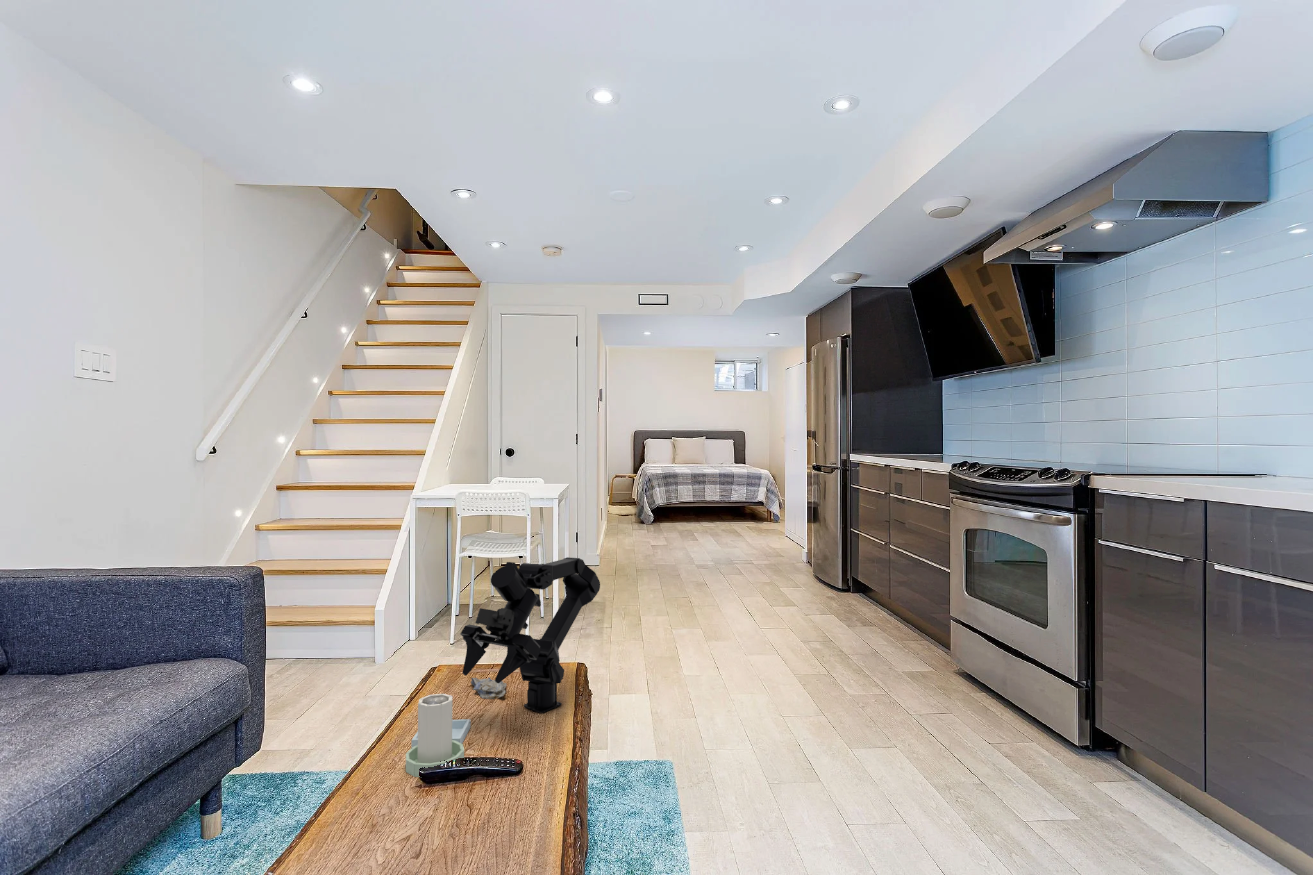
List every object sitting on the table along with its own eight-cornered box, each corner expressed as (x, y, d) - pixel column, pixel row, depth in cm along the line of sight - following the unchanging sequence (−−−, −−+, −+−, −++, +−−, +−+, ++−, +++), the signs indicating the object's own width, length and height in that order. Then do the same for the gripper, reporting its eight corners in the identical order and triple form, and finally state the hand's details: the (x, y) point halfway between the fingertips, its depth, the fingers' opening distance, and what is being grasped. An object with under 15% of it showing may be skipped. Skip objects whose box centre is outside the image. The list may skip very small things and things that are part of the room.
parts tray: (424, 732, 139) (425, 720, 139) (470, 730, 139) (470, 719, 139) (411, 752, 129) (411, 739, 129) (460, 751, 130) (460, 738, 130)
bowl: (442, 750, 130) (442, 735, 130) (474, 765, 124) (474, 749, 124) (394, 769, 122) (394, 753, 122) (426, 787, 116) (426, 770, 116)
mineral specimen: (509, 701, 157) (509, 684, 157) (473, 706, 154) (474, 688, 154) (503, 681, 171) (503, 665, 171) (470, 685, 168) (470, 669, 168)
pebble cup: (436, 753, 127) (437, 689, 127) (458, 760, 124) (459, 695, 124) (410, 766, 122) (411, 699, 122) (433, 774, 119) (434, 705, 119)
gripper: (466, 587, 143) (426, 651, 134) (531, 597, 134) (493, 666, 124) (492, 615, 150) (456, 677, 141) (555, 625, 141) (521, 693, 131)
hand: (480, 678), depth 134 cm, fingers open, 9 cm apart
